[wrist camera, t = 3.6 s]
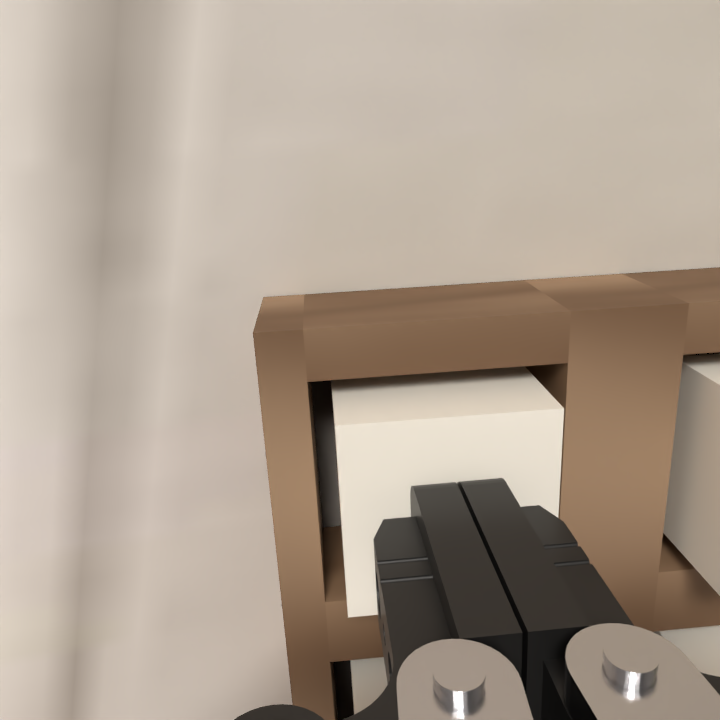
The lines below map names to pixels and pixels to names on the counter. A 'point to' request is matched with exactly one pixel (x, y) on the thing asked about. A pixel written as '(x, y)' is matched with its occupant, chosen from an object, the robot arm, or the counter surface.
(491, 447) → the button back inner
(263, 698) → the counter surface
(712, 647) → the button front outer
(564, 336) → the panel
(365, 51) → the counter surface
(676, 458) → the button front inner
